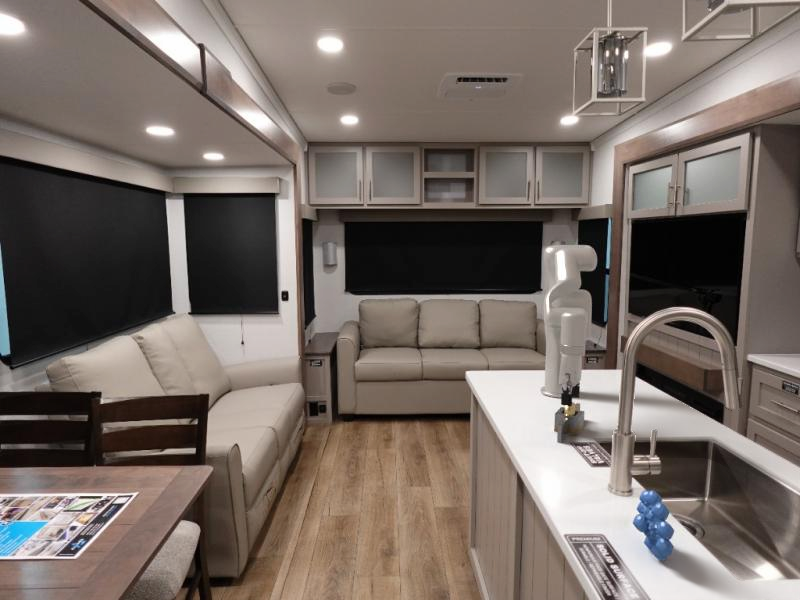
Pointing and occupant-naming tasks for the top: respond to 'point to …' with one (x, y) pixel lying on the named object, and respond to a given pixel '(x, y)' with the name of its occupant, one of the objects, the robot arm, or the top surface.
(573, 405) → the hinge pin
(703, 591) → the top surface
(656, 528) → the grapes
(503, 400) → the top surface
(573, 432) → the hinge
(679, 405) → the top surface
